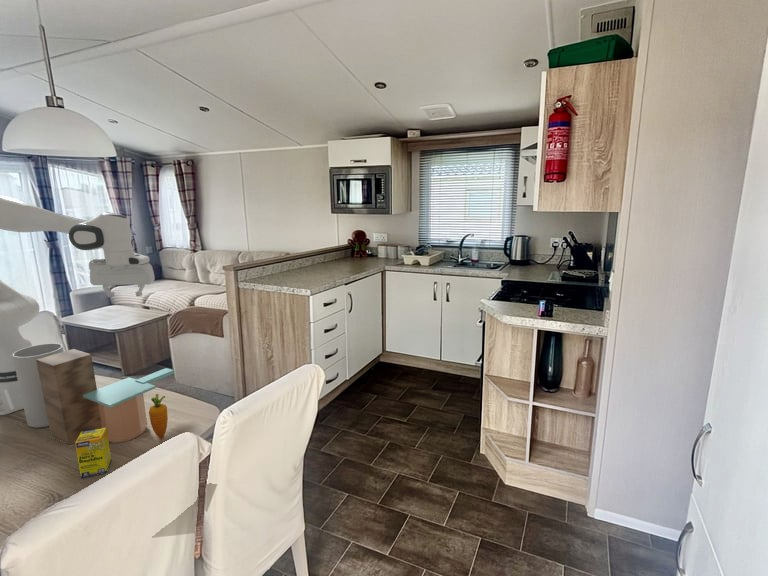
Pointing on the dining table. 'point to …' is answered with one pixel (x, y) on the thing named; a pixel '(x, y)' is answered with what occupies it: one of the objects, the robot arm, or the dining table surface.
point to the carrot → (158, 417)
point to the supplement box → (93, 452)
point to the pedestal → (69, 394)
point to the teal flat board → (126, 389)
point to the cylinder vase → (33, 381)
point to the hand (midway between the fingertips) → (125, 296)
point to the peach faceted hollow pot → (124, 419)
